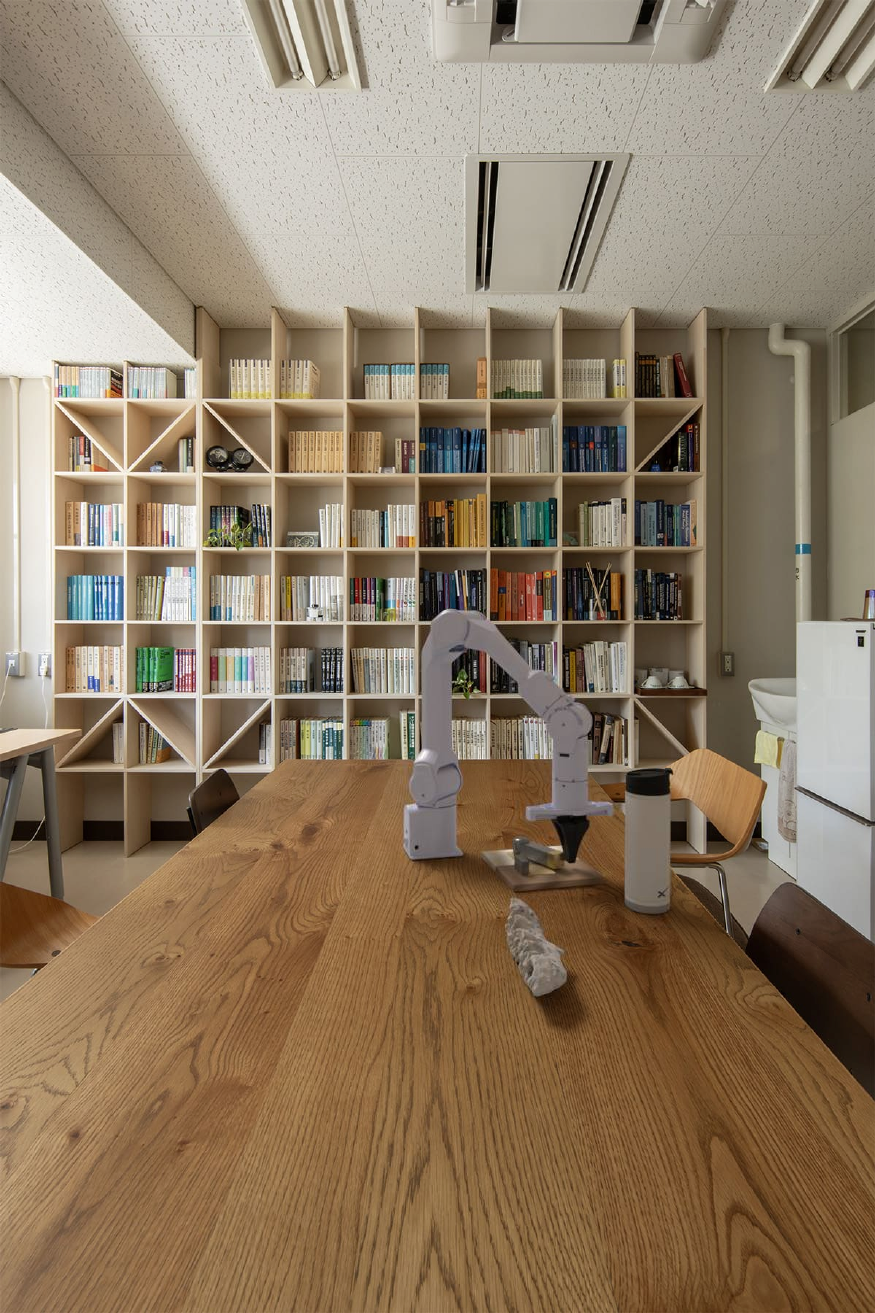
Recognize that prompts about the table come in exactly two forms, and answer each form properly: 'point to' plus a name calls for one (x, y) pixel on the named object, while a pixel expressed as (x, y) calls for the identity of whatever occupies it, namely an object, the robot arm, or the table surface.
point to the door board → (539, 872)
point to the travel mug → (647, 840)
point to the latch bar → (538, 852)
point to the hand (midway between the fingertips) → (569, 861)
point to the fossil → (533, 950)
